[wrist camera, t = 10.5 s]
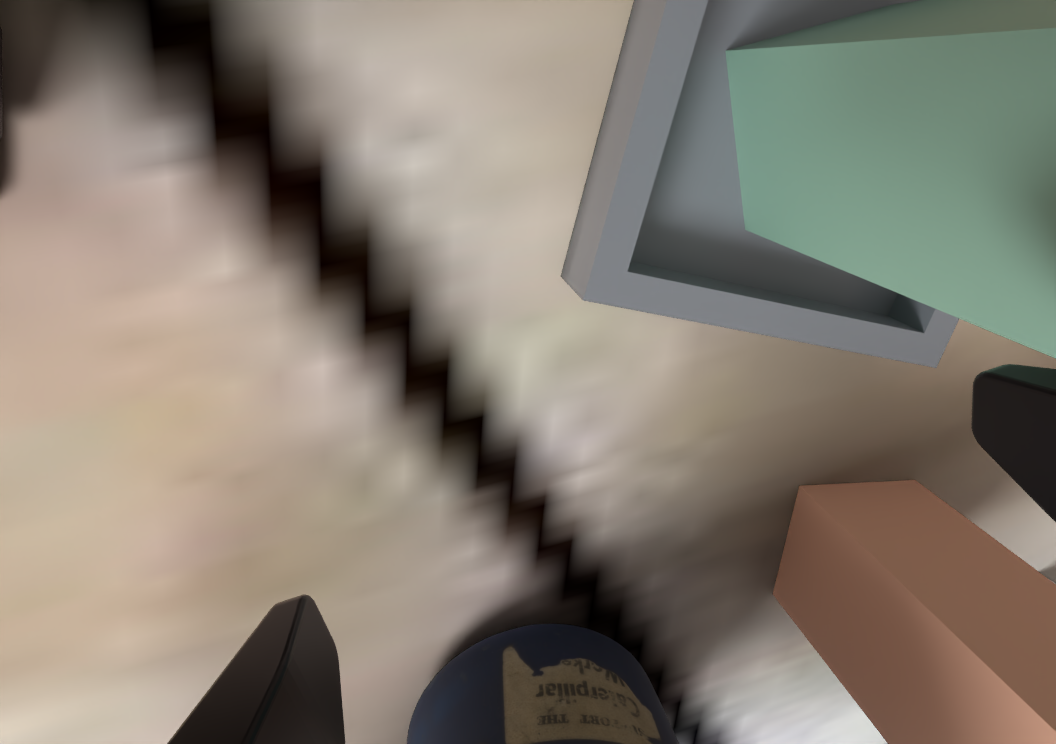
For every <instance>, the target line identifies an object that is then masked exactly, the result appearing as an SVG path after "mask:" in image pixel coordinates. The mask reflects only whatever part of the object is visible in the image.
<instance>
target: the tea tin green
mask: <svg viewBox="0 0 1056 744" xmlns="http://www.w3.org/2000/svg"><path fill="white" fill-rule="evenodd" d="M725 52H726V61H727V70H728V79H729V88H730V97H731V106H732V115H733V124H734V133H735V142H736V152H737V161H738V170H739V179H740V188H741V197H742V206H743V215H744V224H745V230H747V231H749V232H752V233H754V234H757V235H759V236H761V237H764V238H766V239H769V240H771V241H773V242H776V243H778V244H781V245H783V246H785V247H788V248H790V249H793V250H795V251H798V252H800V253H802V254H805V255H807V256H810V257H812V258H814V259H817V260H819V261H822V262H824V263H826V264H829V265H831V266H834V267H836V268H839V269H841V270H843V271H846V272H848V273H851V274H853V275H855V276H858V277H860V278H863V279H865V280H867V281H870V282H872V283H875V284H877V285H880V286H882V287H884V288H887V289H889V290H892V291H894V292H896V293H899V294H901V295H904V296H906V297H909V298H911V299H913V300H916V301H918V302H921V303H923V304H925V305H928V306H930V307H933V308H935V309H937V310H940V311H942V312H945V313H947V314H950V315H952V316H954V317H957V318H959V319H962V320H964V321H966V322H969V323H971V324H974V325H976V326H978V327H981V328H983V329H986V330H988V331H991V332H993V333H995V334H998V335H1000V336H1003V337H1005V338H1007V339H1010V340H1012V341H1015V342H1017V343H1019V344H1022V345H1024V346H1027V347H1029V348H1032V349H1034V350H1036V351H1039V352H1041V353H1044V354H1046V355H1048V356H1051V357H1053V358H1056V0H920V1H913V2H905V3H898V4H893V5H889V6H885V7H882V8H878V9H874V10H871V11H867V12H864V13H860V14H856V15H853V16H849V17H846V18H842V19H838V20H835V21H831V22H828V23H824V24H820V25H817V26H813V27H809V28H806V29H802V30H799V31H795V32H791V33H788V34H784V35H781V36H777V37H773V38H770V39H766V40H763V41H759V42H755V43H752V44H748V45H744V46H741V47H737V48H734V49H730V50H726V51H725Z"/></svg>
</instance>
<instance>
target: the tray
mask: <svg viewBox="0 0 1056 744" xmlns="http://www.w3.org/2000/svg"><path fill="white" fill-rule="evenodd" d="M913 1H920V0H634V3H633V6H632V10H631V14H630V18H629V21H628V25H627V29H626V33H625V36H624V40H623V44H622V48H621V51H620V55H619V59H618V63H617V67H616V70H615V74H614V78H613V82H612V85H611V89H610V93H609V97H608V100H607V104H606V108H605V112H604V116H603V119H602V123H601V127H600V131H599V134H598V138H597V142H596V146H595V149H594V153H593V157H592V161H591V164H590V168H589V172H588V176H587V180H586V183H585V187H584V191H583V195H582V198H581V202H580V206H579V210H578V213H577V217H576V221H575V225H574V228H573V232H572V236H571V240H570V244H569V247H568V251H567V255H566V259H565V262H564V266H563V270H562V274H561V277H562V278H563V279H564V281H565V282H566V283H567V284H568V285H569V286H570V287H571V288H572V289H573V290H574V291H575V292H576V293H577V294H578V295H579V297H580V298H581V299H582V300H584V301H589V302H594V303H600V304H605V305H610V306H615V307H621V308H626V309H631V310H636V311H641V312H647V313H652V314H657V315H662V316H668V317H673V318H678V319H683V320H688V321H694V322H699V323H704V324H709V325H715V326H720V327H725V328H730V329H735V330H741V331H746V332H751V333H756V334H762V335H767V336H772V337H777V338H782V339H788V340H793V341H798V342H803V343H808V344H814V345H819V346H824V347H829V348H835V349H840V350H845V351H850V352H855V353H861V354H866V355H871V356H876V357H882V358H887V359H892V360H897V361H902V362H908V363H913V364H918V365H923V366H929V367H934V368H936V367H937V365H938V363H939V361H940V359H941V357H942V355H943V352H944V350H945V348H946V346H947V344H948V342H949V340H950V337H951V335H952V333H953V331H954V329H955V327H956V325H957V323H958V320H959V318H957V317H954V316H952V315H950V314H947V313H945V312H942V311H940V310H937V309H935V308H933V307H930V306H928V305H925V304H923V303H921V302H918V301H916V300H913V299H911V298H909V297H906V296H904V295H901V294H899V293H896V292H894V291H892V290H889V289H887V288H884V287H882V286H880V285H877V284H875V283H872V282H870V281H867V280H865V279H863V278H860V277H858V276H855V275H853V274H851V273H848V272H846V271H843V270H841V269H839V268H836V267H834V266H831V265H829V264H826V263H824V262H822V261H819V260H817V259H814V258H812V257H810V256H807V255H805V254H802V253H800V252H798V251H795V250H793V249H790V248H788V247H785V246H783V245H781V244H778V243H776V242H773V241H771V240H769V239H766V238H764V237H761V236H759V235H757V234H754V233H752V232H749V231H747V230H745V224H744V215H743V206H742V197H741V188H740V179H739V170H738V161H737V152H736V142H735V133H734V124H733V115H732V106H731V97H730V88H729V79H728V70H727V61H726V52H725V51H726V50H730V49H734V48H737V47H741V46H744V45H748V44H752V43H755V42H759V41H763V40H766V39H770V38H773V37H777V36H781V35H784V34H788V33H791V32H795V31H799V30H802V29H806V28H809V27H813V26H817V25H820V24H824V23H828V22H831V21H835V20H838V19H842V18H846V17H849V16H853V15H856V14H860V13H864V12H867V11H871V10H874V9H878V8H882V7H885V6H889V5H893V4H898V3H905V2H913Z"/></svg>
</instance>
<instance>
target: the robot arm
mask: <svg viewBox="0 0 1056 744" xmlns="http://www.w3.org/2000/svg"><path fill="white" fill-rule="evenodd" d="M2 133H3V130H2V29H1V27H0V138H1V137H2ZM972 431H973V434H974V437H975V439H976V440H977V442H978V443H979V445H980V446H981V447H982V448H983V449H984V450H985V451H986V452H987V453H988V454H989V455H990V456H991V457H992V458H993V459H994V460H995V461H996V462H997V463H998V464H999V465H1000V466H1001V467H1002V468H1003V469H1004V470H1005V471H1006V472H1007V473H1008V474H1009V475H1010V476H1011V477H1012V478H1013V479H1014V481H1015V482H1016V483H1017V484H1018V485H1019V486H1020V487H1021V488H1022V489H1023V490H1024V491H1025V492H1026V493H1027V494H1028V495H1029V496H1030V497H1031V498H1032V499H1033V500H1034V501H1035V502H1036V503H1037V504H1038V505H1039V506H1040V507H1041V508H1042V509H1043V510H1044V511H1045V512H1046V513H1047V514H1048V515H1049V516H1050V517H1051V518H1052V519H1053V520H1054V521H1055V522H1056V369H1050V368H1040V367H1031V366H1022V365H1013V364H1008V365H1002V366H999V367H996V368H993V369H990V370H987V371H984V372H981V373H980V374H979V375H977V376H976V378H975V380H974V382H973V395H972ZM167 744H345V734H344V721H343V709H342V696H341V684H340V671H339V660H338V654H337V650H336V646H335V643H334V641H333V638H332V636H331V634H330V632H329V630H328V628H327V626H326V624H325V622H324V620H323V618H322V616H321V614H320V612H319V610H318V608H317V606H316V604H315V602H314V600H313V599H312V598H311V597H310V596H308V595H301V596H297V597H294V598H291V599H288V600H285V601H282V602H279V603H277V604H275V605H274V606H273V607H272V608H271V609H270V611H269V612H268V613H267V615H266V616H265V617H264V619H263V620H262V621H261V622H260V624H259V625H258V626H257V628H256V629H255V630H254V632H253V633H252V634H251V635H250V637H249V638H248V639H247V641H246V642H245V643H244V645H243V646H242V647H241V648H240V650H239V651H238V652H237V654H236V655H235V656H234V658H233V659H232V660H231V661H230V663H229V664H228V665H227V667H226V668H225V669H224V671H223V672H222V673H221V674H220V676H219V677H218V678H217V680H216V681H215V682H214V684H213V685H212V686H211V687H210V689H209V690H208V691H207V693H206V694H205V695H204V697H203V698H202V699H201V700H200V702H199V703H198V704H197V706H196V707H195V708H194V710H193V711H192V712H191V713H190V715H189V716H188V717H187V719H186V720H185V721H184V722H183V724H182V725H181V726H180V728H179V729H178V730H177V732H176V733H175V734H174V735H173V737H172V738H171V739H170V741H169V742H168V743H167Z"/></svg>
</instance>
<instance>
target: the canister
mask: <svg viewBox="0 0 1056 744" xmlns="http://www.w3.org/2000/svg"><path fill="white" fill-rule="evenodd" d="M407 744H679V742H678V740H677V738H676V736H675V734H674V731H673V729H672V727H671V725H670V723H669V720H668V718H667V716H666V714H665V712H664V709H663V707H662V705H661V703H660V701H659V698H658V696H657V694H656V692H655V690H654V688H653V686H652V684H651V682H650V680H649V678H648V676H647V674H646V673H645V671H644V670H643V668H642V666H641V665H640V664H639V662H638V661H637V660H636V659H635V657H634V656H633V655H632V654H631V653H630V652H628V651H627V650H626V649H625V648H624V647H623V646H621V645H620V644H619V643H617V642H616V641H614V640H612V639H611V638H609V637H607V636H604V635H602V634H600V633H598V632H595V631H593V630H590V629H587V628H582V627H578V626H573V625H565V624H534V625H528V626H524V627H520V628H515V629H511V630H508V631H505V632H502V633H498V634H495V635H493V636H491V637H488V638H486V639H484V640H482V641H480V642H478V643H476V644H474V645H473V646H471V647H470V648H468V649H466V650H465V651H463V652H462V653H460V654H459V655H458V656H456V657H455V658H454V659H453V660H451V661H450V662H449V663H448V664H447V665H446V666H444V667H443V668H442V669H441V670H440V672H439V673H438V674H437V675H436V676H435V677H434V678H433V680H432V681H431V682H430V684H429V685H428V686H427V687H426V689H425V690H424V692H423V694H422V695H421V697H420V699H419V701H418V703H417V705H416V707H415V710H414V713H413V715H412V718H411V722H410V726H409V730H408V737H407Z"/></svg>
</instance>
